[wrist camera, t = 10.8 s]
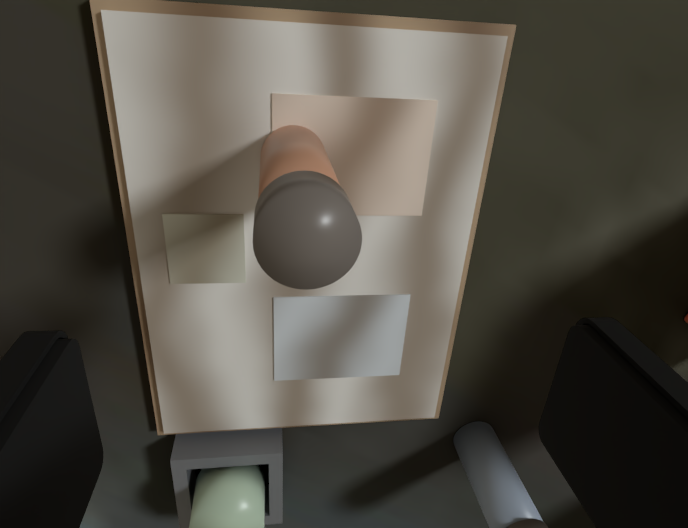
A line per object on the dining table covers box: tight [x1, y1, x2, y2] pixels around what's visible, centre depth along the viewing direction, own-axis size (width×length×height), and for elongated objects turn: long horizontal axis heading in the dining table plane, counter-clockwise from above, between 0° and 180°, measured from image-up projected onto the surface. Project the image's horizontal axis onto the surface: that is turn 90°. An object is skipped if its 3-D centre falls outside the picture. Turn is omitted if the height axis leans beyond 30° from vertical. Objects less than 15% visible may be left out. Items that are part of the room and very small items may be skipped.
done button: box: [189, 465, 265, 528], centre depth 32 cm, size 5×5×4 cm
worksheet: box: [90, 0, 516, 435], centre depth 27 cm, size 19×25×1 cm
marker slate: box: [453, 421, 548, 528], centre depth 32 cm, size 3×3×10 cm
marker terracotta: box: [253, 125, 362, 290], centre depth 19 cm, size 3×3×10 cm
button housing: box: [170, 428, 283, 528], centre depth 33 cm, size 7×7×2 cm
